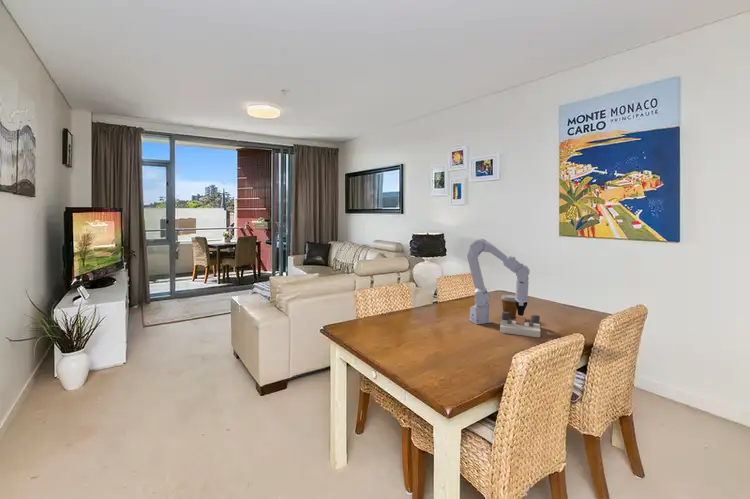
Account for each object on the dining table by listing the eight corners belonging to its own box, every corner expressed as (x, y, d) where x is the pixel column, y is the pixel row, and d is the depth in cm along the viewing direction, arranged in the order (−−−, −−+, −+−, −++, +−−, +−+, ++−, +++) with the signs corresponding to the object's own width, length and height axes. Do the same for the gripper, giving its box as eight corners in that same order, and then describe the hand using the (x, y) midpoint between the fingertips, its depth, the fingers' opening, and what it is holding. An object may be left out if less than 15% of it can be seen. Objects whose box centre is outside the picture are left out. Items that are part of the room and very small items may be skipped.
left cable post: (505, 325, 191) (505, 314, 190) (500, 323, 195) (500, 312, 194) (511, 324, 192) (512, 313, 191) (506, 322, 196) (507, 311, 195)
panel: (540, 337, 173) (540, 328, 173) (499, 332, 180) (500, 323, 179) (539, 329, 184) (539, 320, 184) (501, 325, 191) (501, 316, 190)
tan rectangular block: (524, 325, 181) (524, 316, 181) (515, 324, 183) (516, 315, 182) (524, 324, 182) (524, 316, 182) (515, 323, 184) (516, 315, 183)
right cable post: (534, 328, 186) (534, 317, 185) (528, 326, 189) (529, 315, 189) (540, 328, 187) (541, 316, 186) (535, 325, 191) (535, 314, 190)
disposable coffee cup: (521, 319, 201) (522, 298, 200) (503, 319, 201) (504, 297, 200) (514, 314, 210) (515, 294, 209) (498, 314, 211) (499, 293, 209)
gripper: (530, 293, 177) (529, 321, 179) (530, 287, 190) (529, 313, 192) (515, 292, 180) (513, 319, 181) (515, 286, 193) (514, 311, 195)
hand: (520, 316), depth 187 cm, fingers closed
